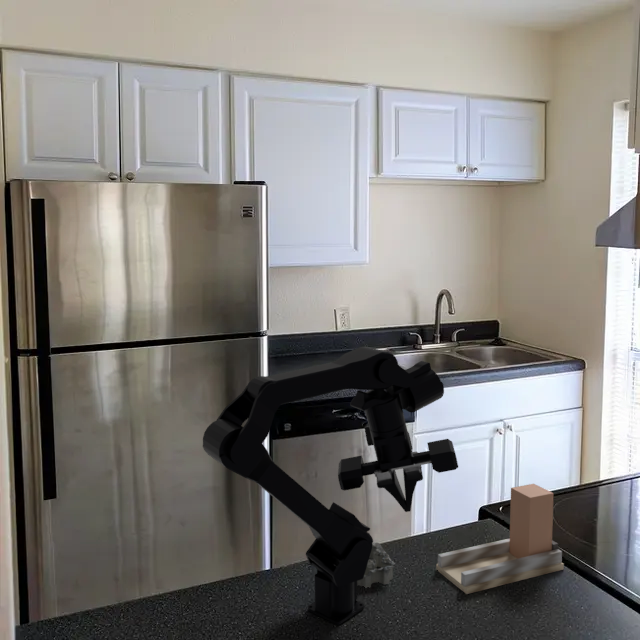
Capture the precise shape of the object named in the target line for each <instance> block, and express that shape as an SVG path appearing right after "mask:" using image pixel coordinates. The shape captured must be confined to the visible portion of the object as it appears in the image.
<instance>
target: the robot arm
mask: <svg viewBox="0 0 640 640" xmlns="http://www.w3.org/2000/svg"><path fill="white" fill-rule="evenodd" d="M398 362H399V361H398V359H397V357H396V356H395V355H394V354H393V353H392V352H390V351H386V350H382V349H377V348H373V347H369V346H359V347H357V348H355V349H352V350H350V351H348V352H346V353H344V354H342V355H341V356H340V357H339V358H338V359H335V360H334V361H331V362H327V363H322V364H318V365H313V366H309V367H308V366H307V367H304V368H300V369H295V370H294V369H293V370H291V371H286V372H281V373H277V374H271V375H265V376H263V375H258V376H256V377H254V378H252V379H251V380H250V381H249V382H248V383H247V385H246V387H245V388H244V389H243V391H242V392H240V394H239V395H238V396H236V397H235V399H233V400H232V401H231V402H229V404H227V405H226V406H225V408H224V409H223V410H222V412H221V413H220V414H219V416H218V417H217V419H216V420H214V421H213V422H211V423H210V424H209V425H208V426H207V428H206V429H205V430H204V432H203V437H202V448H203V451H204V452H205V453H206V454H207V455H208V456H209V457H210V458H212V459H213V460H215V461H216V462H217V463H219V464H221V466H223V467H224V468H226V469H228V470H229V471H231V472H233V473H234V474H236V475H238V476H241V477H243V478H245V479H246V480H250V481H251V482H253V483H255V484H256V485H258V486H259V487H260V488H261V489H263V490H264V491H265V492H266V493H268V494H269V496H271V497H273V498H274V499H275V500H276V501H277V502H278V503H280V504H281V505H282V506H283V507H284V508H286V509H287V510H288V511H290V512H291V513H292V514H293V515H294V516H296V517H297V518H298V519H300V520H301V521H302V522H303V523H304V524H305V525H307V526H308V527H309V530H310V531H311V533H312V535H313V536H314V538H315V540H314V541H313V542H312V543H311V545H310V547H309V548H308V549H307V550H306V552H305V557H306V559H307V562H308V564H309V565H311V566H313V567H314V568H315V569H316V574H314V576H313V577H314V601H313V602H312V603H310V604H309V605H307V608H306V609H307V611H309V612H310V613H313V614H314V615H316V616H318V617H321V618H322V619H325V621H326V620H327V621H328V622H331V623H332V624H335V625H341V624H343V623H344V622H345V621H347V620H348V619H350V618H352V617H353V616H355V615H356V614H358V613H359V612H361V611H362V610H364V608H365V604H364V603H363V602H360V601H359V600H357V599H358V586H357V581H358V580H361V579H363V578H364V574H365V571H366V567H367V564H368V560H369V559H370V558H369V557H370V553H371V550H372V543H374V538H373V536H372V535H371V534H370V533H369V531H371V528H370V526H368V525H366V524H364V523H363V522H361V521H360V520H359V519H358V518H357V516H356V514H355V515H354V514H353V513H352V512H350V511H348V509H345V508H344V507H342V506H340V505H339V504H337V503H335V502H334V501H332V503H331V505H330V507H329V508H328V507H326V506H325V505H324V504H323V503H322V502H320V501H319V500H318V498H316V497H314V495H312V494H311V493H310V492H309V491H308V490H307V489H305V488H304V487H303V486H302V485H300V483H298V482H297V481H296V480H295V479H294V478H293V477H291V475H289V474H288V473H287V472H285V471H284V470H283V469H282V468H280V466H279V465H277V464H276V463H275V461H273V459H272V457H271V455H270V453H269V451H268V449H267V448H266V447H265V445H264V444H263V443H264V442H265V440H266V439H267V437H268V436H269V433H270V430H271V427H272V424H273V421H274V417H275V415H276V413H277V411H278V409H279V408H280V406H282V405H286V404H290V403H291V404H292V403H294V402H298V401H302V400H307V399H312V398H315V397H318V396H319V397H320V396H323V395H327V394H331V393H334V392H340V391H344V390H357V391H356V393H355V396H354V397H353V398H352V400H351V401H350V402H349V403H350V407H353V408H355V409H358V410H360V411H364V412H365V415H366V419H367V423H368V425H366V426H364V427H363V428H364V434H365V439H366V444H367V446H368V447H370V446H373V449H374V451H375V457H376V460H373V461H369V462H368V461H367V462H365V461H364V459H363V456H362V455H357V456H351V457H348V458H346V457H345V458H343V459H341V460H340V461H339V462H338V468H337V469H338V470H337V480H338V483H339V487H340V490H342V491H343V492H344V491H349V490H354V489H360V488H361V487H362V486H363V484H364V483H365V478H364V477H366V476H371V475H374V477H375V478H376V486H377V488H378V489H384V490H385V491H387V492H388V493H389V494H390V495H391V496H392V497H393V499H395V501H396V502H397V503H398V504H399V506H400V507H401V508H402V509H403V511H404V512H405V513H408V512H411V511H412V510H411V509H412V503H413V496H414V492H415V489H416V486H417V483H418V482H420V481H423V479H424V477H423V470H422V466H423V465H428V464H431V465H432V466H431V467H432V470H434V471H435V472H437V473H438V474H440V473H443V472H444V473H445V472H450V471H455V470H456V469H458V468H459V463H458V459H457V455H456V451H455V447H454V444H453V441H452V440H450V439H449V438H445V439H444V438H443V439H439V440H435V441H429V442H427V447H428V450H425V451H419V452H418V451H413V444H412V440H411V435H410V433H409V431H408V428H407V423H406V418H405V414H404V411H403V410H405V411H406V412H408V413H415V412H417V411H419V410H421V409H423V408H426V406H429V405H430V404H432V403H434V402H436V401H438V400H440V399H441V398H442V397H443V396H444V393H445V387H444V383H443V382H442V381H441V379H440V377H439V375H438V374H437V373H436V372H435V371H434V370H433V369H432V367H431V363H430V362H428V361H423V360H421V361H419V362H417V363H415V364H414V365H413V366H410V367H408V368H406V369H404V368H403V367H401V365H399V363H398ZM246 420H247V421H246ZM245 422H246V423H245ZM244 423H245V424H244ZM397 470H402V471H403V472H402V473H403V484H404V485H403V486H404V492H403V489H402V486H401V484H400V482H399V478H398V475H397V472H396V471H397ZM404 494H405V495H404Z"/></svg>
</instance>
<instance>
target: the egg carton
mask: <svg viewBox="0 0 640 640" xmlns="http://www.w3.org/2000/svg"><path fill="white" fill-rule="evenodd" d="M390 557H391V556H390V555H389V554H388V553H387V552H386V550H384V548H383V546H382V545H381V543H380V542H373V543H372V550H371V553H370V557H369V560H368V564H367V567H366V571H365V574H364V578H363V579H361V580H358V581H357V587H362V586H364V587H365V588H364V587H363V588H364V589H368V588H367V587H369V588H371V587H372V584H374V583H375V584H376V583H378V582H379V584H382V585H390V583H391V580H394V565H396V562H394V561H393V560H392V558H390ZM358 585H360V586H358Z"/></svg>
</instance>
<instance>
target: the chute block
mask: <svg viewBox="0 0 640 640" xmlns="http://www.w3.org/2000/svg"><path fill="white" fill-rule="evenodd" d="M509 508H510V510H509V512H510V513H509V515H510V517H509V520H510V521H509V538H510V549H509V553H510V554H512V555H513V556H515V557H516V558H518V559H519V558H523V557H527V556H531V555H535V554H539V553H544V552H548V551H552V540H553V527H554V526H553V522H554V520H553V518H554V492H552V491H550V490H548V489H546V488H544V487H541V486H540V485H537V484H535V483H529V484H524V485H520V486H518V485H517V486H515V487H514V486H513V487H510V507H509Z"/></svg>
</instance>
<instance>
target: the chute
mask: <svg viewBox="0 0 640 640" xmlns="http://www.w3.org/2000/svg"><path fill="white" fill-rule="evenodd" d="M509 549H510V537H509V538H506V539H501V540H497V541H493V542H487V543H482V544H479V545H474V546H470V547H465V548H460V549H456V550H451V551H447V552H443V553H438V554H437V563H436V564H435V565H436V569H435V570H436V571H437V570H438V571H437V572H439V573H440V574H441V575H442V576H444V578H446V579H447V580H448V581H449V582H450V583H452V584H453V585H454V586H456V587H457V588H458V589H460V591H462V592H464V594H465V595H468V594H472V593H477V592H481V591H484V590H488V589H493V588H496V587H499V586H502V585H503V586H504V585H508V584H511V583H515V582H519V581H523V580H528V579H530V578H535V577H540V576H543V575H547V574H551V573H554V572H559V571H562V570H564V569H565V568H564V565H565V563H563V562H562V561H563V558H562V557H563V550H560V549H559V543H558V542H556V541H554V540H553V539H552V551H548V552H544V553H539V554H535V555H531V556H527V557H523V558H519V559H518V558H516V557H515V556H513V555H512V554H510V553H509Z"/></svg>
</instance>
